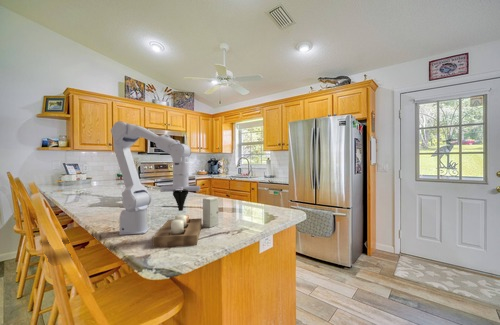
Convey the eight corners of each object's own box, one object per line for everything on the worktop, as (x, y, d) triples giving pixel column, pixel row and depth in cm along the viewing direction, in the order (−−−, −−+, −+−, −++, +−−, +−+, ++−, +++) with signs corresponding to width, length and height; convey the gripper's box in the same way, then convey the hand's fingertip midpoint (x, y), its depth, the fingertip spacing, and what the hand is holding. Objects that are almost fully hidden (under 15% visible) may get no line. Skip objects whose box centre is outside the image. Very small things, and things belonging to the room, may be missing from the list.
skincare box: (210, 227, 92) (210, 199, 92) (202, 226, 94) (202, 198, 94) (219, 224, 97) (219, 197, 97) (211, 222, 99) (211, 196, 99)
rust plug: (177, 227, 87) (177, 217, 87) (179, 224, 92) (179, 214, 92) (188, 226, 88) (188, 217, 88) (189, 223, 92) (189, 214, 92)
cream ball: (174, 228, 80) (173, 217, 80) (176, 224, 85) (176, 214, 85) (185, 227, 81) (185, 217, 81) (187, 224, 85) (187, 214, 85)
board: (153, 247, 71) (153, 237, 71) (168, 227, 93) (168, 219, 93) (196, 244, 73) (196, 235, 73) (201, 225, 95) (201, 218, 95)
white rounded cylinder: (169, 234, 74) (169, 222, 74) (172, 230, 78) (172, 219, 78) (182, 233, 74) (182, 222, 74) (184, 229, 78) (184, 219, 78)
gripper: (158, 175, 78) (158, 213, 78) (199, 175, 80) (199, 211, 80) (162, 174, 85) (163, 209, 85) (200, 174, 87) (200, 207, 87)
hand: (180, 210), depth 83 cm, fingers closed
